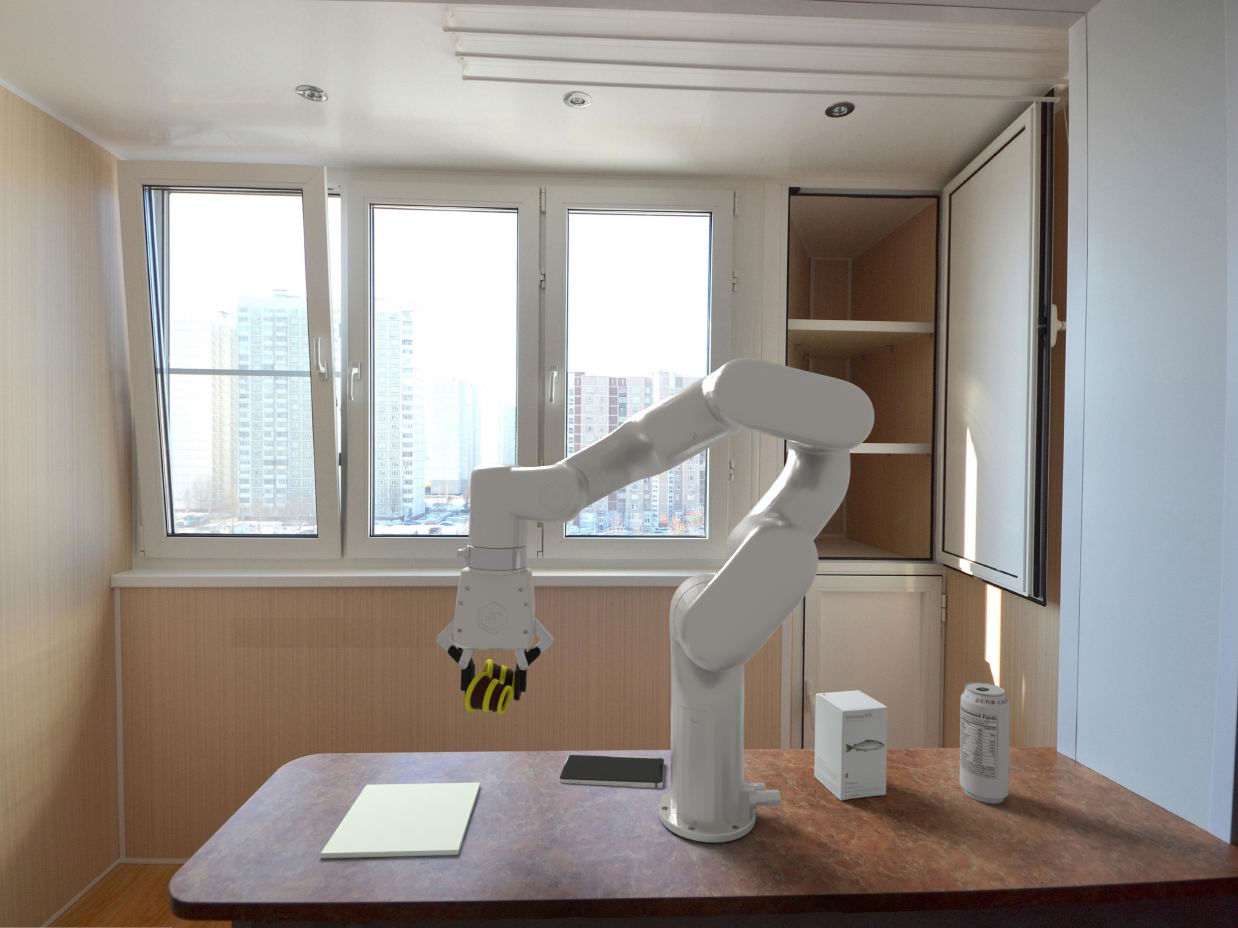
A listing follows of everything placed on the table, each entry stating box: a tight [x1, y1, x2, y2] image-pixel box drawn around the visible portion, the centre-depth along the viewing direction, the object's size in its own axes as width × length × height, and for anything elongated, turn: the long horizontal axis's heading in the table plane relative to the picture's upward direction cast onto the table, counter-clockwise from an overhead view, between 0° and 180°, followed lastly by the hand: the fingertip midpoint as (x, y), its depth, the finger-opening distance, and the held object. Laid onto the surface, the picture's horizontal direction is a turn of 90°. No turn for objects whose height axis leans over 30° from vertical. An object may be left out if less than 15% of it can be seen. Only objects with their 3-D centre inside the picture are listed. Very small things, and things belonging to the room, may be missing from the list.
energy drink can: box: [959, 681, 1011, 804], centre depth 92 cm, size 6×6×15 cm
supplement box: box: [813, 689, 888, 801], centre depth 94 cm, size 7×7×13 cm
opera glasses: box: [464, 658, 515, 715], centre depth 86 cm, size 10×5×5 cm, turn 179°
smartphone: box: [559, 754, 665, 789], centre depth 98 cm, size 8×1×15 cm
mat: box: [320, 781, 481, 859], centre depth 86 cm, size 16×16×1 cm
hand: (493, 695), depth 86 cm, fingers closed on opera glasses, 5 cm apart
